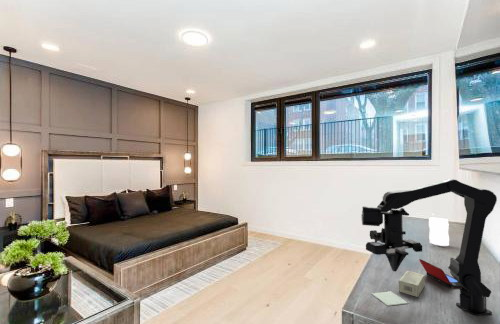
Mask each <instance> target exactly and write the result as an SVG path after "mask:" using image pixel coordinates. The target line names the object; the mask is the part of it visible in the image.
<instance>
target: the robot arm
mask: <svg viewBox="0 0 500 324" xmlns="http://www.w3.org/2000/svg"><path fill="white" fill-rule="evenodd" d="M448 193H453V194H454V195H457V196H459V197H461V198H463V199H464V200H463V202H464V203H463V204H464V208H465V211H466V218H465V224H464V228H463V233H462V239H461V245H460V250H459V254H458V255H457V257H456V258H453V256H452V257H450V258H449V260H450V263H449V266H448V267H447V268H448V270H449V272H450V276H451V277H453V278H455V279H456V280H457V282H458V283H459V284H460V285H461V286H462V287H461V288H459V302H456V303H455V305H456V306H458V307H459V308H461V309H462V310H465V311H466V312H468V313H470V314H472V315H474V316H483V315H484V314H485V315H490V313H492V314H493V312H492V311H491V310H489V309H488V308H487V298H489V297H491V293H492V290H490V289H489V288H488V287H487V286H486V285H485V284H484V283H483V282H482V271H481V268H480V264H479V257H480V251H481V245H482V241H483V240H482V239H483V234H484V229H485V224H486V221H487V218H488V217H489V215H490V214H492V212H493V211H494V208H495V206H496V204H497V201H498V197H497V195H496V194H495V193H494V192H493V191H491V190H490V189H483V188H477V187H474V186H471V185H469V184H466V183H463V182H461V181H459V180H457V179H454V178H453V179H451V178H449V179H448V178H447V179H445V180H443V181H439V182H434V183H430V184H428V185H427V184H426V185H423V186H419V187H416V188H411V189H406V190H405V189H403V190H393V191H387V192H385V193H383V196H382V201H380V202H379V204H378V205H377V207H374V206H373V207H371V206H370V207H369V206H362V211H361V225H362V226H371V227H380V225H382V224H383V226H384V227H382V228H381V231H380V232H378V231H377V230H370V231H369V237H370V238H369V239H371V240H374V241H367V242H366V244H365V250H366V251H368V252H370V253H372V254H374V255H377V256H378V255H379V256H381V255H385V256H386V259H387V260H388V263H389V266H390V268H391V270H392V271H393V272H397V271H398V270H399V267H400V266H401V263H402V262H403V261H404V260H405V258H406V256H409V252H408V251H406V249H412V250H413V251H414V253H415V252H416V253H420V252H423V245H422V244H421V243H420V242H419V241H416V240H413V239H404V235H406V233H407V232H406V230H404V229H403V227H404V226H403V216H410V214H409V213H408V212H407V211H406V210H405V208H404V207H406V206H408V205H410V204H411V203H414V202H415V201H419V200H423V199H428V198H431V197H436V196H439V195H444V194H448Z"/></svg>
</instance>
